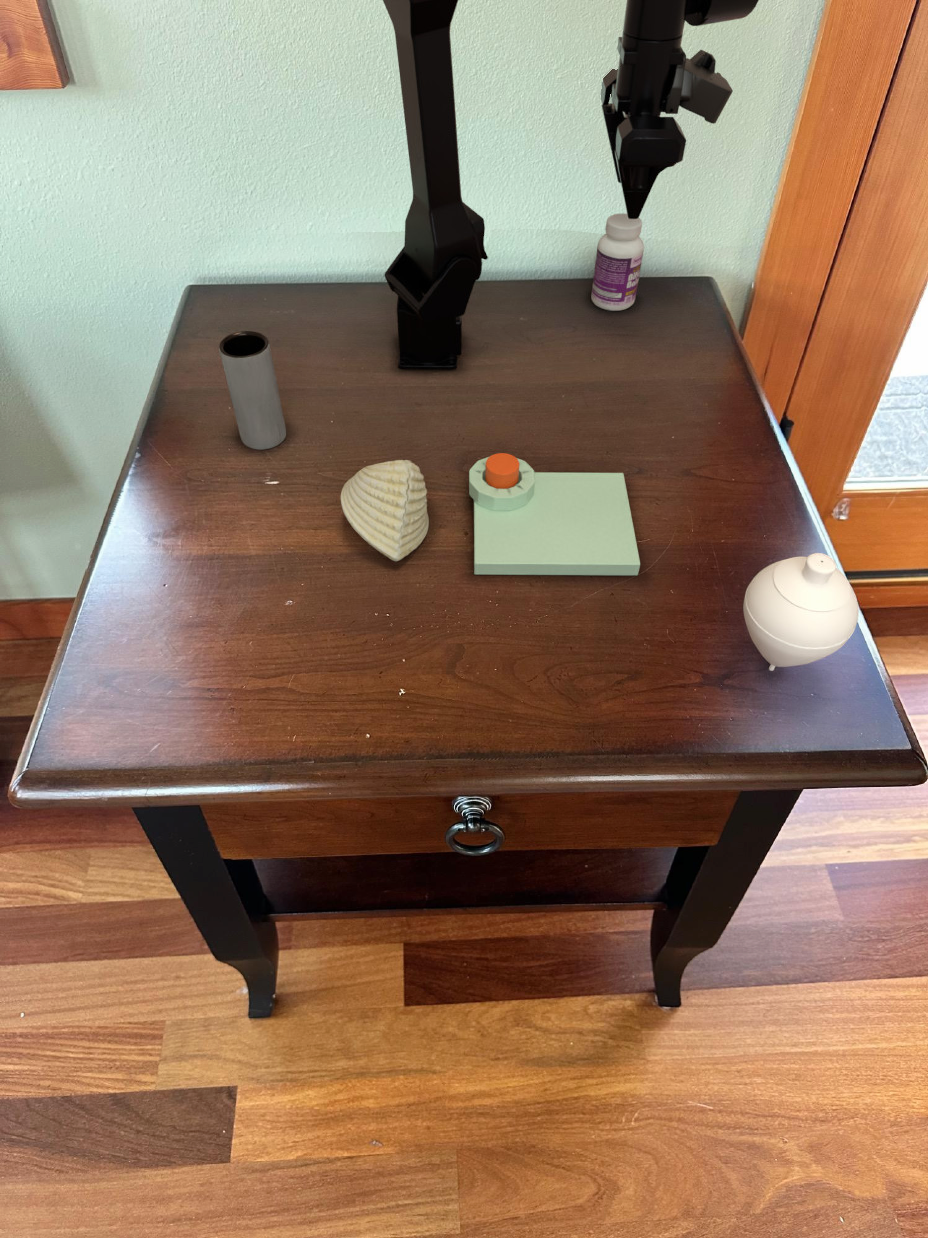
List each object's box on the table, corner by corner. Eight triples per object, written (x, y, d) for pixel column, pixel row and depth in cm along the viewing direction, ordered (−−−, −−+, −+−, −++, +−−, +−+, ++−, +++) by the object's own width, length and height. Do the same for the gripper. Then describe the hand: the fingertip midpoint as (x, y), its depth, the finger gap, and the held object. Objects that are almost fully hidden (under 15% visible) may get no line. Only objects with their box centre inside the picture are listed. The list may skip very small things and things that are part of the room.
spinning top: (821, 721, 62) (884, 615, 53) (716, 697, 63) (760, 590, 54) (822, 643, 66) (879, 534, 57) (724, 623, 68) (765, 513, 59)
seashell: (426, 460, 78) (457, 471, 70) (409, 549, 79) (438, 568, 72) (342, 444, 74) (366, 453, 67) (326, 537, 76) (347, 555, 69)
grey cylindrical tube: (295, 429, 84) (278, 336, 76) (270, 455, 82) (250, 361, 74) (257, 417, 86) (237, 325, 78) (231, 442, 83) (208, 349, 75)
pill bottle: (633, 314, 99) (647, 233, 92) (588, 309, 100) (598, 228, 92) (636, 292, 103) (649, 212, 95) (593, 287, 103) (603, 207, 96)
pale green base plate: (469, 574, 71) (469, 549, 69) (468, 480, 79) (469, 454, 77) (638, 575, 71) (643, 550, 69) (620, 480, 79) (625, 455, 77)
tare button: (485, 489, 74) (486, 474, 73) (485, 468, 76) (485, 452, 75) (519, 489, 74) (520, 474, 73) (517, 468, 76) (518, 452, 75)
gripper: (758, 64, 74) (716, 239, 86) (717, 5, 86) (686, 165, 98) (633, 63, 74) (609, 238, 86) (609, 4, 86) (591, 165, 98)
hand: (627, 199), depth 92 cm, fingers open, 9 cm apart
